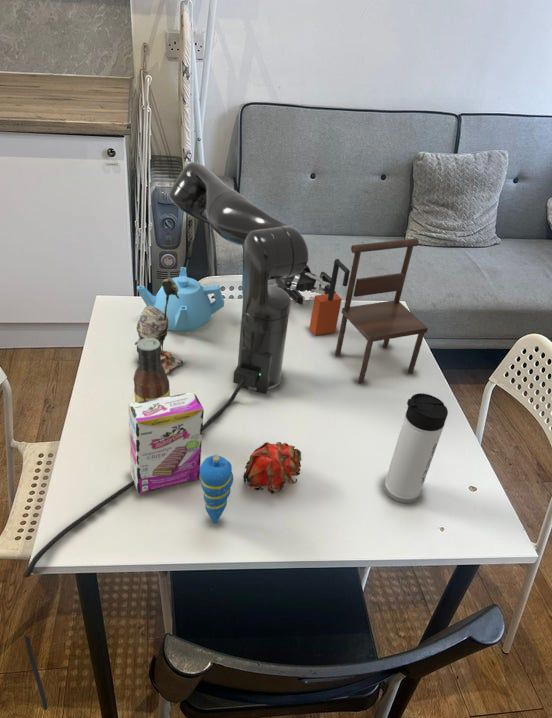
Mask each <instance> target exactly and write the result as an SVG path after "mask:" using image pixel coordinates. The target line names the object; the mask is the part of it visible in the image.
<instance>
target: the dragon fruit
mask: <svg viewBox="0 0 552 718" xmlns="http://www.w3.org/2000/svg"><path fill="white" fill-rule="evenodd" d="M302 460H303V459H302V451H301V450H299V449H298V448H296V446H294V445H290V444H288V443H287V442H283V443H282V442H281V441H276V443H270V442H269V441H267V442H264V443H262V444H261V445H260V446H259V447H257V448H255V450H253V452H252V453H251V454H250V456H249V459H248V460H247V462H246V464H245V466H244V470H245V472H244V473H243V475H242V478H243V483H244V485H247V483H248V487H249V489H251V490H253V491H254V490H255V491H262V490H264V489H265V488H263V487H267V490H268V492H270V494H272V495H275V494H277V493H279V492H280V491H282V490H283V489H284V488H285V484H286V483H289V484H291V485H295V484H296V483H298V478H295V481H294V479H292V477H298V476H300V474H301V471H302V470H301V467H302V464H301V462H302Z"/></svg>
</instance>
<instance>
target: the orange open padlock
mask: <svg viewBox="0 0 552 718" xmlns="http://www.w3.org/2000/svg"><path fill="white" fill-rule="evenodd" d="M340 269H341V271H343V272H344V274H343V281H342V286H343V287H348V284H349V279H350V274H351V270H350V269H349V268H348V267H347V266H346V265H345V264H344V263H342V261H341V260H340V259H339V258H335V259H334V261H333V267H332V273H331V284H330V289H329V294H325V293H323V294H317V295H314V296H313V304H312V309H311V316H310V322H309V328H308V329H309V330H310V332H311V333H312V334H313V335H314V336H319V335H327V334H332V333H336V331H337V325H338V320H339V315H340V309H341V305H342V297H340V296H339V295H338V294H337V292H336V293H334V292H335V291H336V285H337V281H338V280H337V279H338V274H339V270H340Z"/></svg>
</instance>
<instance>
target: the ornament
mask: <svg viewBox="0 0 552 718" xmlns="http://www.w3.org/2000/svg"><path fill="white" fill-rule="evenodd" d="M199 478H200V480H201V482H200V486H201V489H202V491H203V500H204V502H205V506H204V508H205V511H206V513H207V515H208V517H209V518H210V521H211V523H213V524H217V523H218V522H219V520H220V518H221V516H222V515H223V513H224V511H225V509H226V507H227V505H228V499H229V497H230V496H231V491H232V486H233V483H234V473H233V467H232V464H231V462H230V461H229V460H228V459H227V458H225V457H223V456H222V455H217V454H214V455H210V456H207V457H206V458H205V459H204V460H203V461H202V463H201V464H200V477H199Z"/></svg>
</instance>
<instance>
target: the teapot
mask: <svg viewBox="0 0 552 718" xmlns="http://www.w3.org/2000/svg"><path fill="white" fill-rule="evenodd" d="M187 272H188V271H187V267H184V266H180V269H179V275H178V276H175V277H172V278H171V279H173V281H174V282H175V284H176V286H177V287H178V292H177V294H178V297H179V299H178V298H177V297H176V296H175V295H172V294H171V295H169V300H168V304H167V312H166V316H167V317H168V329H167V331H172V332H176V333H191V332H195V331H198V330H200V329H201V328H203V327H204V326H206V325H207V324H208V323H209V322H210V320H211V319H212V316H213V315H214V314H215V313H217V312H219V310H221V309H223V308H224V307H225V300H224V296H223V294H222V290H221V288H220V287H221V286H220V284H218V285H216V284H215V285H208V286H207V285H205V286H202V284H201V283H200V281H198V280H196V279H194V278H192V277H188V274H187ZM136 290H137V292H138V294H139V295H140V297H141V299H142V300H143V302H144V304H145V306H147V305H151V306H153V307H155V308H157V309H159V310H161V311H162V312H163V313H165V306H166V294H165V292H164V289H163V286H162V285H161V287H160V289H159V290H158V292H157V293H156V295H153V294H152V293H151V292H150V291H149V290H148V289H147V288H146V287H145V285H138V286H136ZM209 295H213V296H214V300H213V301H212V302H211V299H210V298H209ZM150 302H151V303H150Z"/></svg>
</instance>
